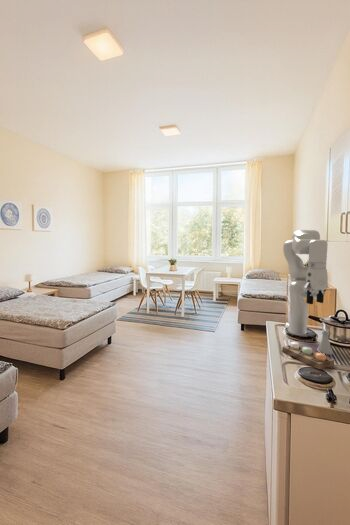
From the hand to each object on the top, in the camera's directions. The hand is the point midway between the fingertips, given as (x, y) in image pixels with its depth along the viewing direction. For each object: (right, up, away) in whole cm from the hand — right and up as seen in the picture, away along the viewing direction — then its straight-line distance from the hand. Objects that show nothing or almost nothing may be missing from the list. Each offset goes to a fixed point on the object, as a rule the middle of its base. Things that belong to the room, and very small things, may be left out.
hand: (314, 302), depth 127 cm
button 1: (-8, -24, +4) cm, 25 cm away
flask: (+7, -26, +5) cm, 27 cm away
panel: (-5, -26, -2) cm, 26 cm away
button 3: (-2, -25, -9) cm, 27 cm away
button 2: (-5, -24, -2) cm, 25 cm away
